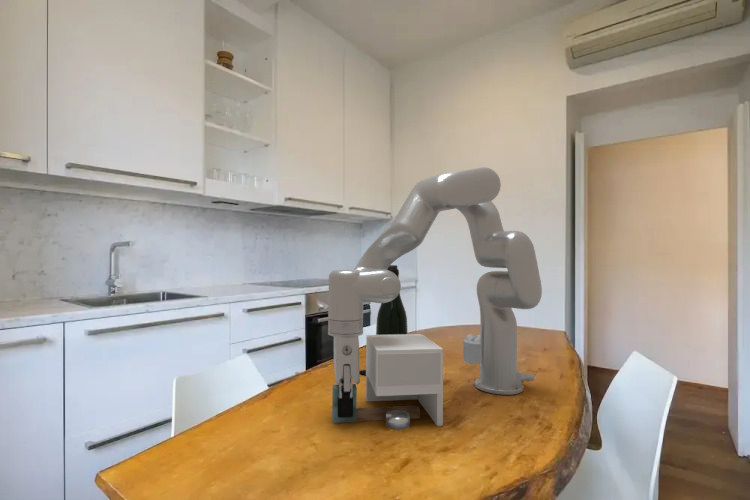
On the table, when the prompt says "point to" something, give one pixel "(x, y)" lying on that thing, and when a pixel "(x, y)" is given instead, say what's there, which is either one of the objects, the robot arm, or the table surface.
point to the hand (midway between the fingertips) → (344, 412)
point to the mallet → (367, 409)
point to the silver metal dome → (397, 419)
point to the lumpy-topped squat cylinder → (471, 349)
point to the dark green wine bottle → (392, 314)
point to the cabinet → (405, 371)
